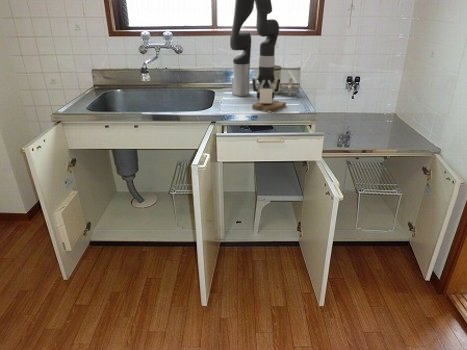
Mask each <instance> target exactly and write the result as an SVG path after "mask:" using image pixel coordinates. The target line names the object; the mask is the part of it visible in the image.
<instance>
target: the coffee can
mask: <svg viewBox="0 0 467 350" xmlns="http://www.w3.org/2000/svg"><path fill="white" fill-rule="evenodd" d="M281 75H282V66H281V65H276V64H275V66H274V77H275V78H280V80H281ZM272 86H273V88H274V89H275V88H276V81H274V82H273V83H272ZM280 90H281V84H280V85H279V90H278V91H276V92H275V93H274V95H275V94H279V93H280V92H281V91H280Z"/></svg>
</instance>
